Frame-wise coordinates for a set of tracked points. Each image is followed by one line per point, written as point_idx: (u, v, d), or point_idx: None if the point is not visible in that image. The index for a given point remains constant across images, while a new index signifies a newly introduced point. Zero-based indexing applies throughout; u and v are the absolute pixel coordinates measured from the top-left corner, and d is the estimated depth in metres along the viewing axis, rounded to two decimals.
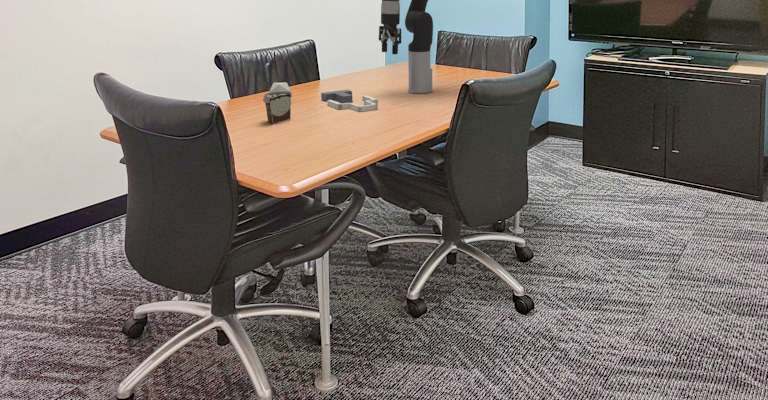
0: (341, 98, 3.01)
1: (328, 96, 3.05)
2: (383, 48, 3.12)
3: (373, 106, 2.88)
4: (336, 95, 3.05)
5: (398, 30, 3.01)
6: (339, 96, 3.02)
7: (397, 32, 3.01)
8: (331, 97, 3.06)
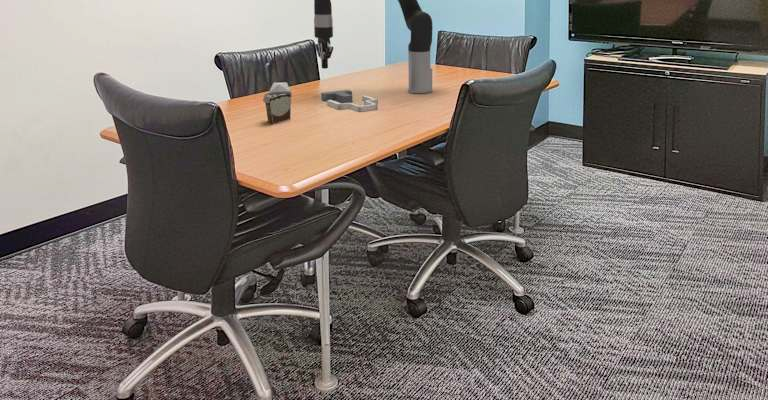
0: (341, 98, 3.01)
1: (328, 96, 3.05)
2: None
3: (373, 106, 2.88)
4: (336, 95, 3.05)
5: (330, 49, 3.06)
6: (339, 96, 3.02)
7: (328, 51, 3.07)
8: (331, 97, 3.06)
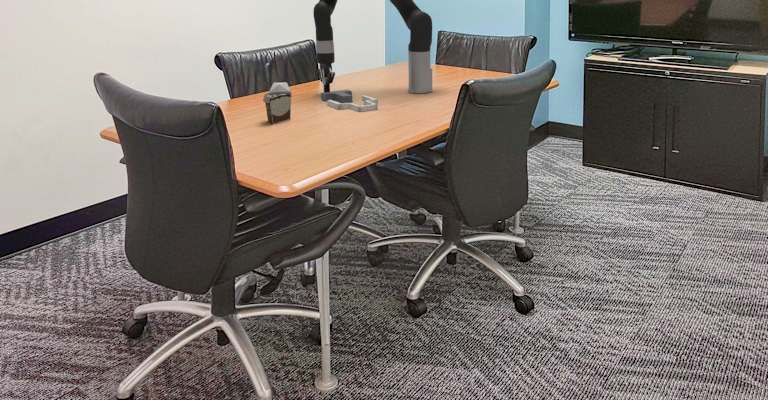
0: (341, 98, 3.01)
1: (328, 96, 3.05)
2: None
3: (373, 106, 2.88)
4: (336, 95, 3.05)
5: (332, 75, 3.09)
6: (339, 96, 3.02)
7: (330, 76, 3.10)
8: (331, 97, 3.06)
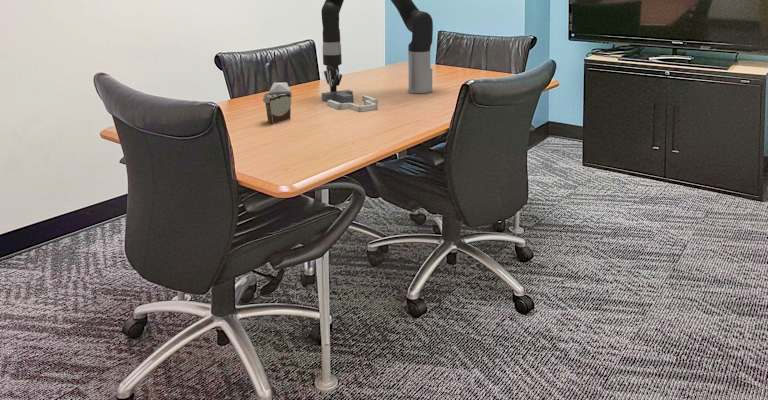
0: (341, 98, 3.00)
1: (329, 96, 3.04)
2: (332, 91, 3.11)
3: (373, 106, 2.88)
4: (337, 95, 3.04)
5: (338, 77, 3.04)
6: (340, 96, 3.02)
7: (337, 78, 3.04)
8: (332, 97, 3.05)
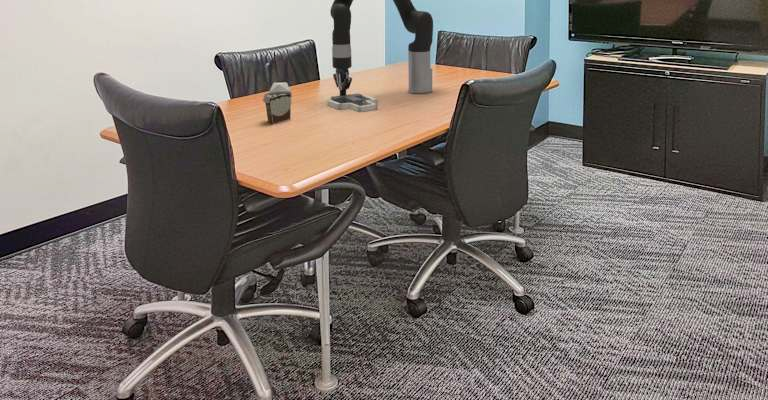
0: (351, 102, 2.93)
1: (338, 100, 2.97)
2: None
3: (373, 106, 2.88)
4: (346, 99, 2.96)
5: (348, 80, 2.96)
6: (349, 100, 2.94)
7: (347, 82, 2.97)
8: (341, 101, 2.97)
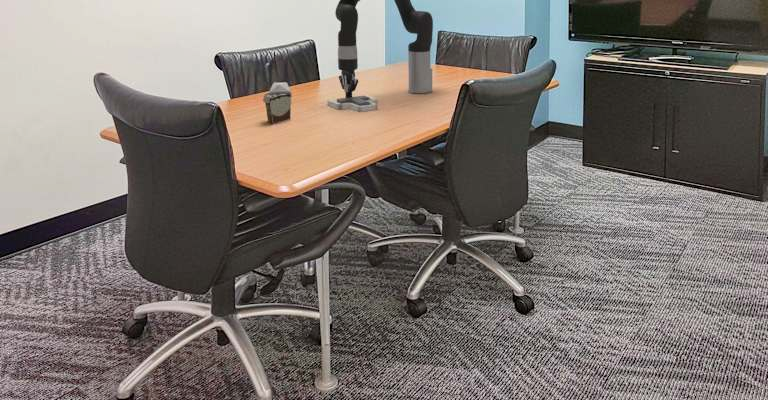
0: (357, 104, 2.89)
1: (344, 102, 2.92)
2: (347, 97, 2.99)
3: (373, 106, 2.88)
4: (352, 101, 2.92)
5: (355, 82, 2.92)
6: (356, 102, 2.90)
7: (353, 84, 2.92)
8: None
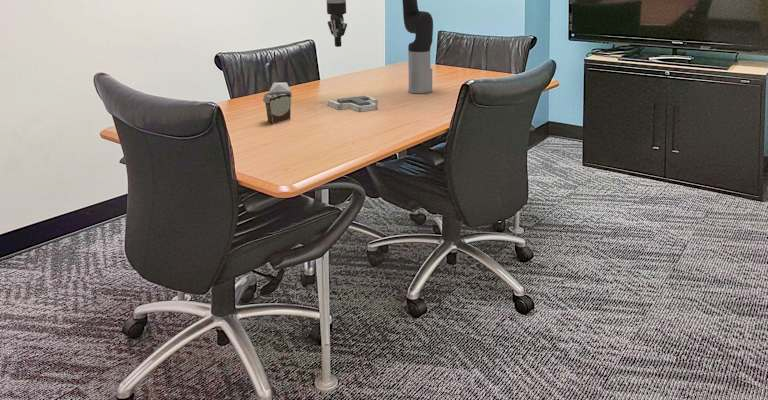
0: (357, 104, 2.88)
1: (344, 102, 2.92)
2: None
3: (373, 106, 2.88)
4: (353, 101, 2.92)
5: (343, 26, 2.92)
6: (356, 103, 2.90)
7: (342, 28, 2.93)
8: None
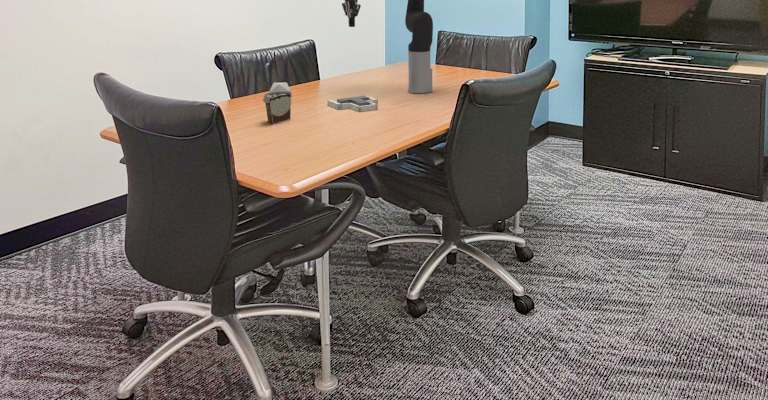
0: (357, 104, 2.88)
1: (344, 102, 2.92)
2: None
3: (373, 106, 2.88)
4: (353, 101, 2.92)
5: (357, 7, 3.09)
6: (356, 103, 2.90)
7: (356, 8, 3.10)
8: None
